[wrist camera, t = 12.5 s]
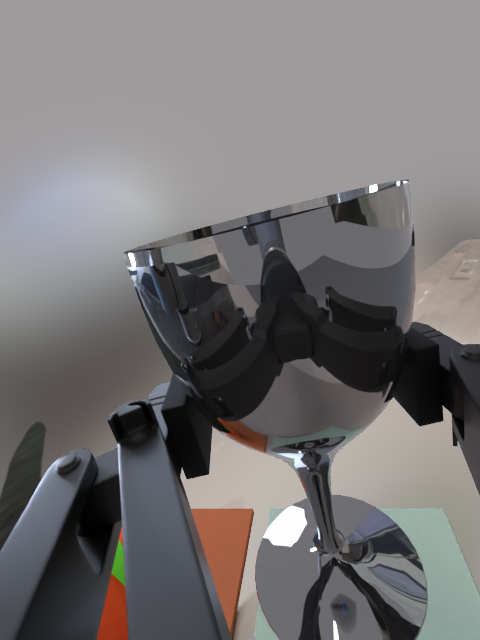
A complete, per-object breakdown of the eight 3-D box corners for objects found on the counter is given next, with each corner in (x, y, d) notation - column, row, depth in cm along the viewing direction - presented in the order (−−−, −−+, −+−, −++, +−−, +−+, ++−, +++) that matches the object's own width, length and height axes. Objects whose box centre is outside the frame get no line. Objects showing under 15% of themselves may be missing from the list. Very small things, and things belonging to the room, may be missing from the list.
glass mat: (227, 881, 13) (224, 876, 13) (271, 512, 27) (270, 508, 27) (654, 1020, 9) (658, 1016, 9) (444, 513, 24) (443, 508, 24)
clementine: (216, 603, 22) (185, 526, 19) (124, 730, 17) (69, 649, 15) (152, 540, 27) (122, 475, 25) (69, 623, 23) (23, 553, 20)
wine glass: (212, 625, 13) (60, 269, 9) (284, 475, 19) (219, 222, 15) (441, 758, 9) (390, 197, 4) (440, 512, 15) (418, 173, 11)
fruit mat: (-39, 794, 17) (-45, 790, 16) (123, 512, 31) (121, 508, 31) (192, 869, 13) (188, 865, 13) (254, 512, 28) (252, 508, 28)
